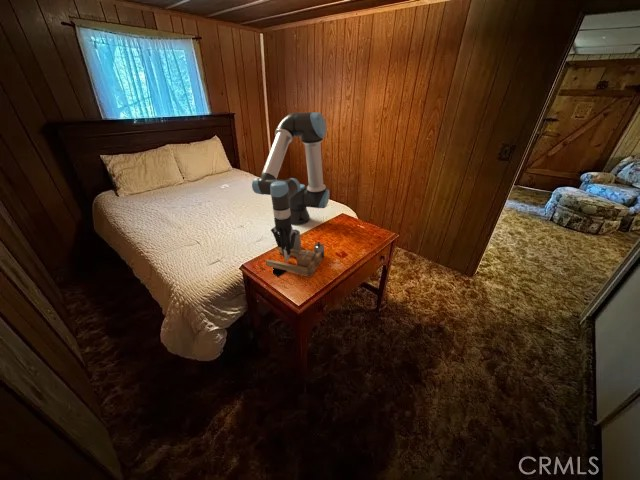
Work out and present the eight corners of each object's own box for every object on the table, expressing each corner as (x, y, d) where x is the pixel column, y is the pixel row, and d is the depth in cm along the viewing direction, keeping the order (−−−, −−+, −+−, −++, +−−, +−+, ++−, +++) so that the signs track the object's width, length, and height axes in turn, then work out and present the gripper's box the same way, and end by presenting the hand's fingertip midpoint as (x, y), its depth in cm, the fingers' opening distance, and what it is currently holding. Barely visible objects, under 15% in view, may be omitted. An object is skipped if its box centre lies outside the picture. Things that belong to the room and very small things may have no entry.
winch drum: (316, 252, 133) (316, 239, 129) (325, 254, 132) (325, 240, 127) (312, 257, 129) (312, 243, 125) (322, 259, 128) (321, 245, 123)
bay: (280, 252, 135) (279, 244, 132) (321, 260, 127) (321, 251, 125) (266, 266, 124) (265, 258, 121) (310, 276, 116) (310, 267, 114)
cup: (298, 254, 133) (297, 237, 128) (283, 252, 134) (281, 236, 129) (302, 245, 140) (301, 229, 135) (288, 244, 141) (286, 228, 136)
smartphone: (257, 266, 125) (277, 278, 116) (257, 265, 125) (277, 276, 116) (269, 259, 130) (289, 270, 121) (269, 258, 129) (289, 269, 121)
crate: (303, 261, 127) (302, 249, 124) (316, 263, 125) (316, 251, 121) (297, 269, 122) (295, 256, 118) (310, 272, 119) (310, 259, 116)
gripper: (265, 218, 113) (272, 261, 125) (291, 221, 109) (296, 266, 121) (273, 211, 119) (279, 253, 131) (298, 214, 115) (302, 257, 127)
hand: (287, 259), depth 126 cm, fingers closed
